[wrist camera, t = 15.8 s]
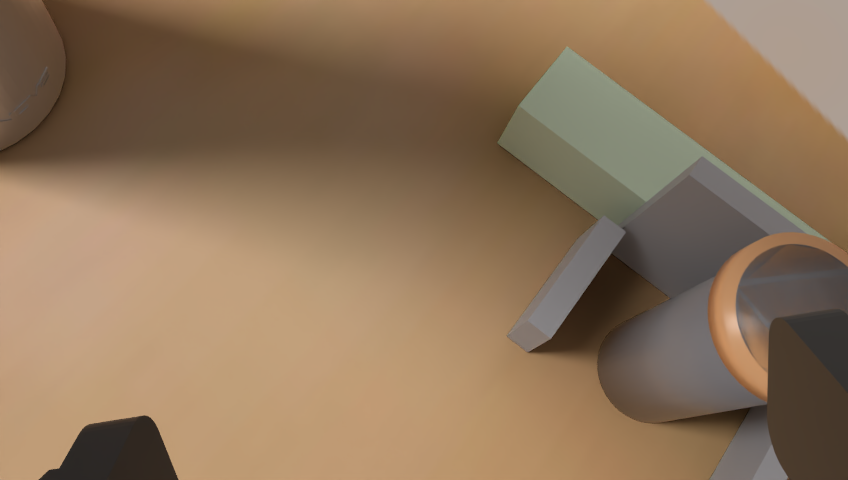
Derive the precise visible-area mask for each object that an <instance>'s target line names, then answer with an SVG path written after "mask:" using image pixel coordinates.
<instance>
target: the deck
mask: <svg viewBox="0 0 848 480" xmlns="http://www.w3.org/2000/svg"><path fill="white" fill-rule="evenodd" d="M497 143H498V144H499V145H500V146H502V147H503V148H504V149H505V150H507V151H508V152H509V153H511V154H512V155H513V156H515V157H516V158H517V159H519V160H520V161H521V162H523V163H524V164H525V165H527V166H528V167H529V168H531V169H532V170H533V171H534V172H536V173H537V174H538V175H540V176H541V177H542V178H544V179H545V180H546V181H548V182H549V183H550V184H552V185H553V186H554V187H556V188H557V189H558V190H560V191H561V192H562V193H563V194H565V195H566V196H567V197H569V198H570V199H571V200H573V201H574V202H575V203H577V204H578V205H579V206H581V207H582V208H583V209H585V210H586V211H587V212H589V213H590V214H591V215H592V216H594V217H595V218H596V219H598V221H597V222H596V223H595V224H593V225H592V226H591V227H590V228H589V229H588V230H587V231H586V232H584V233H583V234H582V235H581V236H580V237H579V238H578V239H577V240H576V241H575V243H574V244H573V245H572V247H571V248H570V250H569V251H568V252H567V254H566V255H565V256H564V258H563V259H562V261H561V262H560V263H559V265H558V266H557V267H556V269H555V270H554V272H553V273H552V274H551V276H550V277H549V278H548V280H547V281H546V283H545V284H544V285H543V287H542V288H541V289H540V291H539V292H538V293H537V295H536V296H535V298H534V299H533V300H532V302H531V303H530V304H529V306H528V307H527V309H526V310H525V311H524V313H523V314H522V315H521V317H520V318H519V320H518V321H517V322H516V324H515V325H514V326H513V328H512V329H511V331H510V332H509V333H508V335H507V337H509V338H510V339H511V340H512V341H514V342H515V343H516V344H518V345H519V346H520V347H521V348H523V349H524V350H525V351H527V352H529V351H531V350H533V349H534V348H536V347H538V346H539V345H541V344H543V343H545V342H546V341H548V340H550V339H551V338H552V337H553V335H554V334H555V332H556V331H557V329H558V328H559V327H560V325H561V324H562V322H563V321H564V320H565V318H566V317H567V315H568V314H569V312H570V311H571V310H572V308H573V307H574V305H575V304H576V302H577V301H578V300H579V298H580V297H581V295H582V294H583V293H584V291H585V290H586V288H587V287H588V285H589V284H590V283H591V281H592V280H593V278H594V277H595V275H596V274H597V273H598V271H599V270H600V268H601V267H602V265H603V264H604V263H605V261H606V260H607V258H608V257H609V256H610V254H611V253H612V254H613V255H614V256H616V257H617V258H618V259H620V260H621V261H622V262H623V263H625V264H626V265H627V266H629V267H630V268H631V269H633V270H634V271H635V272H637V273H638V274H639V275H641V276H642V277H643V278H645V279H646V280H647V281H648V282H650V283H651V284H652V285H654V286H655V287H656V288H658V289H659V290H660V291H662V292H663V293H664V294H666V295H667V296H668V297H669V298H673V297H675V296H677V295H679V294H681V293H683V292H685V291H687V290H689V289H691V288H693V287H695V286H697V285H699V284H701V283H703V282H705V281H707V280H709V279H711V278H713V277H714V276H716V274H717V273H718V271H719V269H720V268H721V267H722V265H723V264H724V263H725V262H726V261H727V260H728V259H729V258H730V257H731V256H732V255H733V254H735V253H736V252H738V251H739V250H741V249H743V248H745V247H746V246H748V245H750V244H752V243H754V242H756V241H758V240H760V239H762V238H764V237H766V236H770V235H773V234H777V233H783V232H797V233H805V234H809V235H814V236H817V237H819V238H822V239H825V240H827V239H826V238H825V237H823V236H822V235H821V234H819V233H818V232H817V231H815V230H814V229H813V228H811V227H810V226H808V225H807V224H806V223H804V222H803V221H802V220H800V219H799V218H798V217H796V216H795V215H794V214H792V213H791V212H790V211H788V210H787V209H786V208H784V207H783V206H782V205H780V204H779V203H777V202H776V201H775V200H773V199H772V198H771V197H769V196H768V195H767V194H765V193H764V192H763V191H761V190H760V189H759V188H757V187H756V186H755V185H753V184H752V183H751V182H749V181H748V180H746V179H745V178H744V177H742V176H741V175H740V174H738V173H737V172H736V171H734V170H733V169H732V168H730V167H729V166H728V165H726V164H725V163H724V162H722V161H721V160H720V159H718V158H717V157H715V156H714V155H713V154H711V153H710V152H709V151H707V150H706V149H705V148H703V147H702V146H701V145H699V144H698V143H697V142H695V141H694V140H693V139H691V138H690V137H689V136H687V135H686V134H684V133H683V132H682V131H680V130H679V129H678V128H676V127H675V126H674V125H672V124H671V123H670V122H668V121H667V120H666V119H664V118H663V117H662V116H660V115H659V114H658V113H656V112H655V111H653V110H652V109H651V108H649V107H648V106H647V105H645V104H644V103H643V102H641V101H640V100H639V99H637V98H636V97H635V96H633V95H632V94H631V93H629V92H628V91H626V90H625V89H624V88H622V87H621V86H620V85H618V84H617V83H616V82H614V81H613V80H612V79H610V78H609V77H608V76H606V75H605V74H604V73H602V72H601V71H600V70H598V69H597V68H595V67H594V66H593V65H591V64H590V63H589V62H587V61H586V60H585V59H583V58H582V57H581V56H579V55H578V54H577V53H575V52H574V51H573V50H571V49H570V48H569V47H566V48H565V50H564V51H563V52H562V53H561V54H560V56H559V57H558V58H557V59H556V61H555V62H554V63H553V64H552V65H551V67H550V68H549V69H548V70H547V71H546V73H545V74H544V75H543V76H542V77H541V79H540V80H539V81H538V82H537V84H536V85H535V86H534V87H533V88H532V90H531V91H530V92H529V93H528V94H527V96H526V97H525V98H524V99H523V101H522V102H521V103H520V104H519V105H518V107H517V109H516V111H515V112H514V114H513V116H512V118H511V119H510V121H509V123H508V125H507V126H506V128H505V130H504V132H503V133H502V135H501V137H500V139H499V141H498V142H497ZM827 241H829V240H827ZM829 242H830V241H829ZM787 478H788V476H787V475H786V473H785V472H784V470H783V468H782V467H781V465H780V463H779V461H778V459H777V457H776V454H775V452H774V449H773V446H772V443H771V439H770V435H769V430H768V423H767V404H766V405H760V406H754V407H751V408H750V410H749V412H748V413H747V415H746V417H745V419H744V420H743V422H742V424H741V426H740V427H739V429H738V431H737V433H736V434H735V436H734V438H733V440H732V441H731V443H730V445H729V446H728V448H727V450H726V452H725V453H724V455H723V457H722V459H721V460H720V462H719V464H718V466H717V467H716V469H715V471H714V473H713V474H712V476H711V478H710V480H787Z"/></svg>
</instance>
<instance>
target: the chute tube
mask: <svg viewBox="0 0 848 480" xmlns="http://www.w3.org/2000/svg"><path fill="white" fill-rule="evenodd" d="M835 308H837V309H841V310H842V311H844V312H845V313H846V314H848V253H847V252H845V251H844V250H842V249H841V248H839V247H838V246H836V245H835V244H833V243H831V242H829V241H827V240H825V239H822V238H819V237H817V236H814V235H809V234H805V233H797V232H783V233H777V234H773V235H770V236H766V237H764V238H762V239H760V240H758V241H756V242H754V243H752V244H750V245H748V246H746V247H745V248H743V249H741V250H739V251H738V252H736V253H735V254H733V255H732V256H731V257H730V258H729V259H728V260H727V261H726V262H725V263H724V264H723V265H722V267H721V268H720V269H719V271H718V273H717V274H716V276H714V277H713V278H711V279H709V280H707V281H705V282H703V283H701V284H699V285H697V286H695V287H693V288H691V289H689V290H687V291H685V292H683V293H681V294H679V295H677V296H675V297H673V298H671V299H669V300H667V301H665V302H663V303H661V304H659V305H657V306H655V307H653V308H651V309H649V310H647V311H645V312H643V313H641V314H639V315H637V316H635V317H633V318H631V319H629V320H627V321H625V322H623V323H621V324H619V325H618V326H616V327H615V328H614V329H613V330H612V331H610V332H609V334H608V335H607V336H606V338H605V339H604V341H603V343H602V345H601V348H600V351H599V355H598V376H599V380H600V383H601V386H602V388H603V390H604V392H605V394H606V396H607V397H608V399H609V400H610V402H611V403H612V404H613V405H614V406H615V407H616V408H617V409H618V410H619V411H620V412H622V413H623V414H625V415H626V416H628V417H630V418H632V419H634V420H637V421H640V422H645V423H660V422H666V421H672V420H678V419H684V418H690V417H696V416H701V415H707V414H713V413H719V412H725V411H731V410H737V409H742V408H748V407H754V406H760V405H766V404H767V389H768V346H769V329H770V325H771V322H772V321H773V319H775V318H778V317H784V316H791V315H797V314H804V313H810V312H816V311H823V310H829V309H835Z"/></svg>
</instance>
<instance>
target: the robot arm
mask: <svg viewBox="0 0 848 480" xmlns="http://www.w3.org/2000/svg"><path fill="white" fill-rule="evenodd" d="M65 70H66V55H65V50H64V45H63V41H62V38H61V36H60V34H59V32H58V30H57V28H56V26H55V24H54V22H53V20H52V18H51V16H50V15H49V13H48V11H47V9H46V7H45V5H44V3H43V2H42V0H0V151H1V150H3V149H5V148H7V147H9V146H11V145H13V144H15V143H17V142H18V141H19V140H21V139H22V138H23V137H25V136H26V135H28V134H29V133H30V132H32V131H33V130H34V129H35V128H36V127H37V126H38V125H39V124H40V123H41V122H42V121H43V119H44V118H45V117H46V116H47V115H48V114H49V113H50V111H51V109H52V107H53V106H54V104H55V102H56V101H57V99H58V97H59V95H60V92H61V89H62V86H63V82H64V79H65ZM767 423H768V430H769V435H770V439H771V443H772V446H773V449H774V452H775V454H776V457H777V459H778V461H779V463H780V465H781V467H782V468H783V470H784V472H785V473H786V475H787V476H788V478H789V479H790V480H848V314H846V313H845V312H844V311H842V310H841V309H837V308H835V309H829V310H823V311H816V312H810V313H804V314H797V315H791V316H784V317H778V318H775V319H773V321H772V322H771V325H770V329H769V346H768V389H767ZM39 480H178V478H177V475H176V473H175V470H174V468H173V465H172V463H171V460H170V458H169V455H168V453H167V450H166V448H165V445H164V443H163V440H162V438H161V435H160V433H159V430H158V428H157V426H156V424H155V423H154V421H153V420H152V419H151V418H150V417H148V416H139V417H132V418H126V419H120V420H113V421H107V422H101V423H94V424H89V425H87V426H85V427H84V428H83V429H82V431H81V432H80V434H79V435H78V437H77V439H76V440H75V442H74V444H73V446H72V447H71V449H70V451H69V453H68V454H67V456H66V458H65V459H64V461H63V463H62V465H61V466H60V468H59V469H53V470H49V471H48V472H47V473H46V474H44V475H43V476H42V477H41V478H40V479H39Z"/></svg>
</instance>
